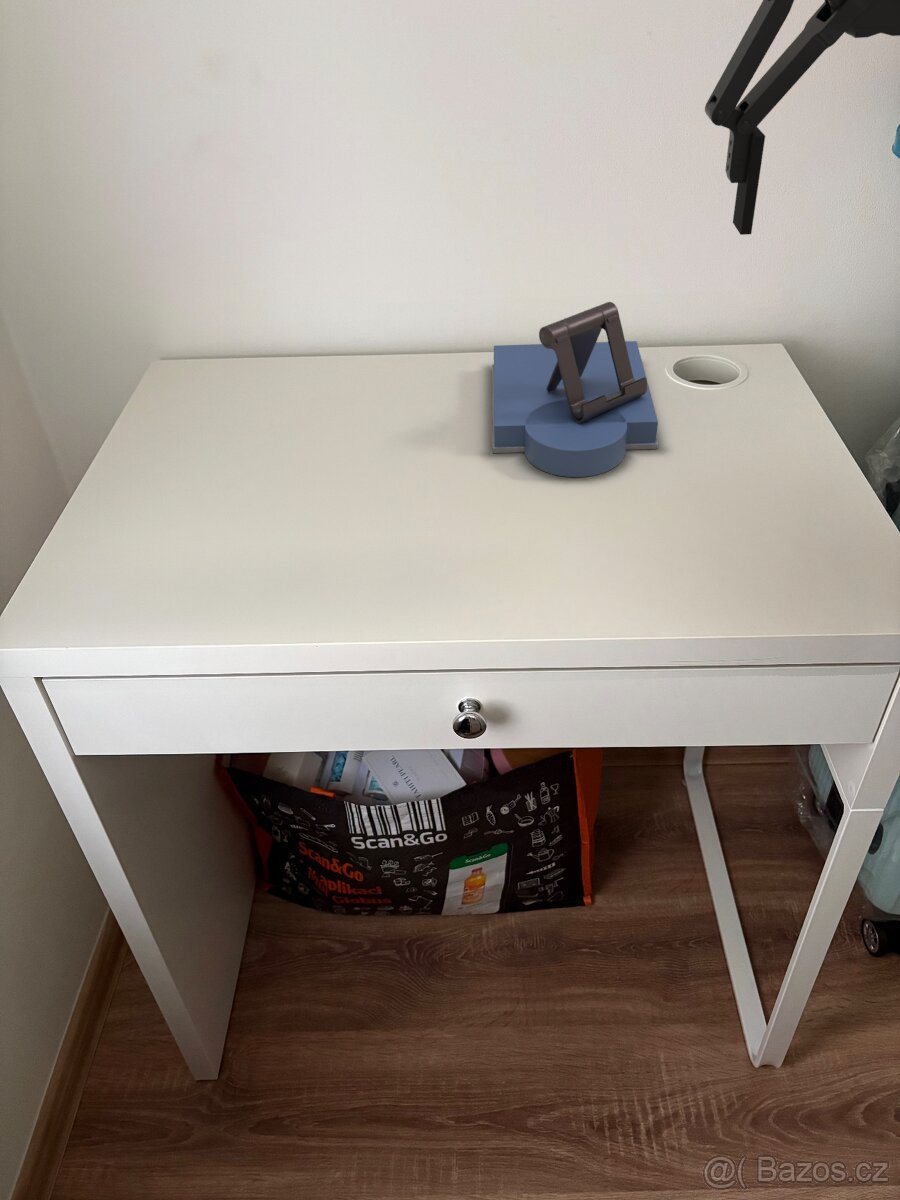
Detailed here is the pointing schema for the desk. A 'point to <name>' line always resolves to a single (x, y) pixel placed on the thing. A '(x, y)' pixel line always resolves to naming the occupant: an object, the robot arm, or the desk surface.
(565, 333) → the tablet stand
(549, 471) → the blue square with disc
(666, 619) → the desk surface
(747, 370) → the desk surface
